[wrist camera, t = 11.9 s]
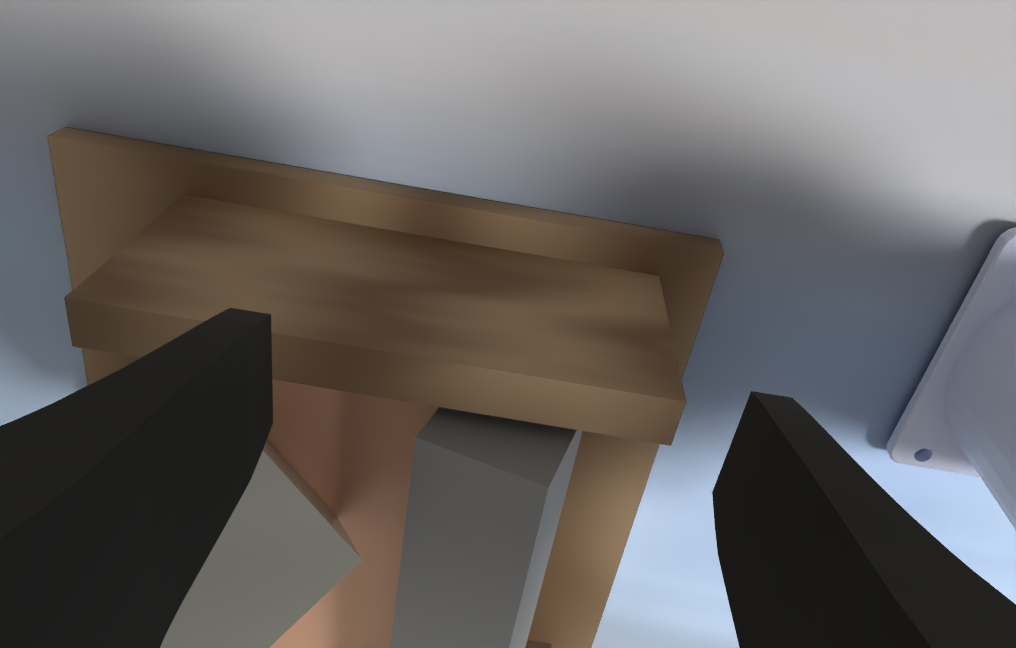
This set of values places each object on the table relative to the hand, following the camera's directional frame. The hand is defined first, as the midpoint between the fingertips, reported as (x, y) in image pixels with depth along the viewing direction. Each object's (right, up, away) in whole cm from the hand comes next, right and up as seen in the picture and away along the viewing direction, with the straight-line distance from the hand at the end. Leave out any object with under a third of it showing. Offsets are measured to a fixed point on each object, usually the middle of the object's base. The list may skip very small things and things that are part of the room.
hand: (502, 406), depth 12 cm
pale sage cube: (-7, -4, +8) cm, 11 cm away
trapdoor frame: (-5, -3, +14) cm, 16 cm away
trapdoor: (-4, -5, +11) cm, 13 cm away
